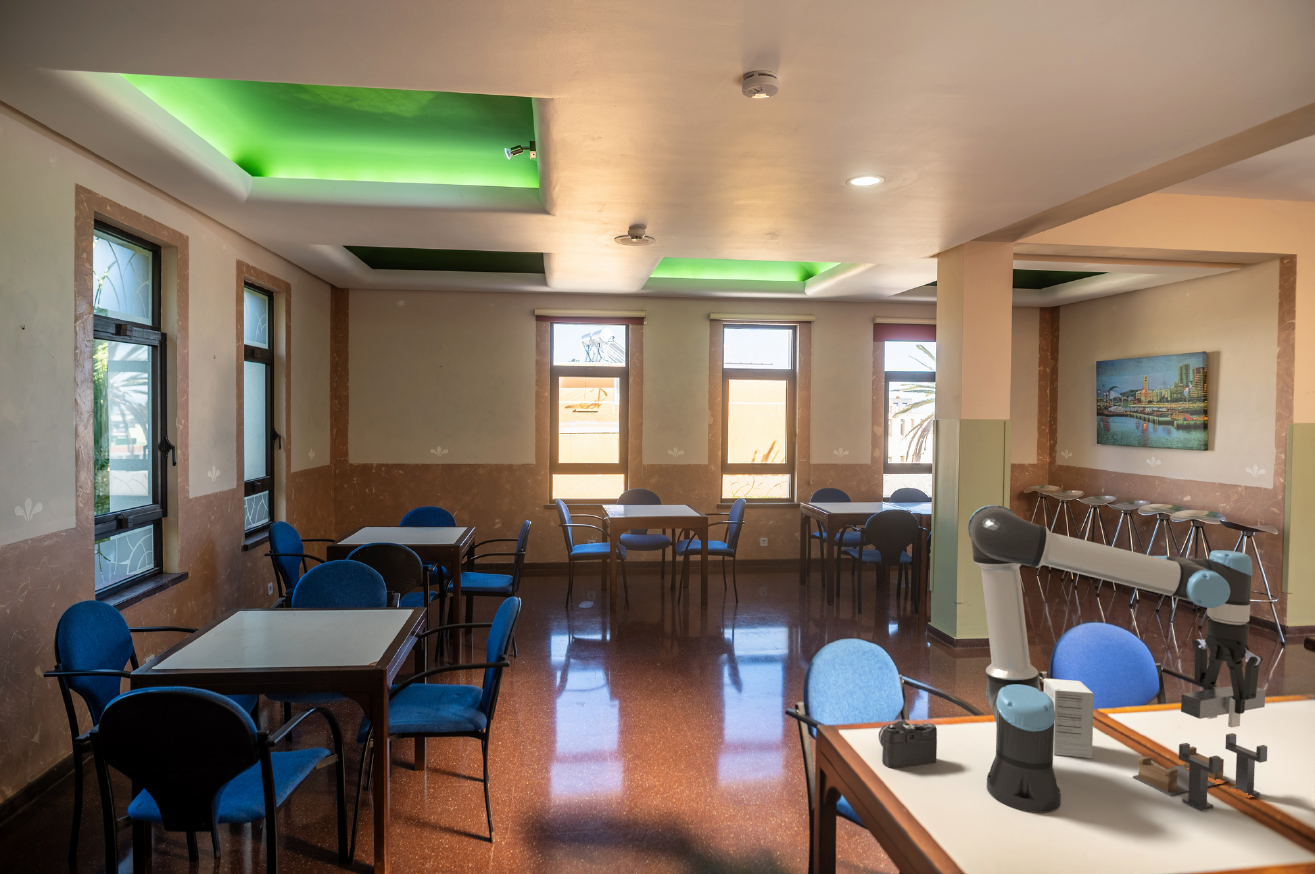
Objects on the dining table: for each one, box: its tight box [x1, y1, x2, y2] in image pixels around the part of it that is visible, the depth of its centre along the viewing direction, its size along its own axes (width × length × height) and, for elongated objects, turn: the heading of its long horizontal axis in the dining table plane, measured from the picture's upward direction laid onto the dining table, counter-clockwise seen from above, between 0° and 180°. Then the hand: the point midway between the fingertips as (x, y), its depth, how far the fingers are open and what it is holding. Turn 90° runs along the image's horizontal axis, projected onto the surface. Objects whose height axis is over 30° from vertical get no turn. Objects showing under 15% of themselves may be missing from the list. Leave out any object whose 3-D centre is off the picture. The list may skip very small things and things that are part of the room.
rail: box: [1180, 685, 1266, 720], centre depth 163 cm, size 22×4×4 cm, turn 110°
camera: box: [878, 719, 938, 769], centre depth 182 cm, size 14×11×10 cm
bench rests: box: [1132, 746, 1230, 797], centre depth 172 cm, size 20×9×5 cm, turn 110°
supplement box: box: [1043, 678, 1095, 759], centre depth 187 cm, size 10×9×17 cm
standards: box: [1178, 732, 1268, 812], centre depth 163 cm, size 20×7×12 cm, turn 110°
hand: (1222, 721), depth 163 cm, fingers closed on rail, 4 cm apart
